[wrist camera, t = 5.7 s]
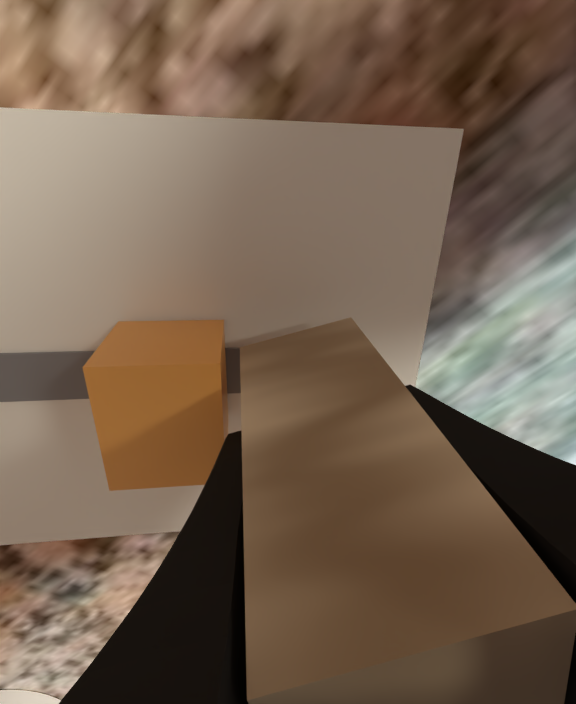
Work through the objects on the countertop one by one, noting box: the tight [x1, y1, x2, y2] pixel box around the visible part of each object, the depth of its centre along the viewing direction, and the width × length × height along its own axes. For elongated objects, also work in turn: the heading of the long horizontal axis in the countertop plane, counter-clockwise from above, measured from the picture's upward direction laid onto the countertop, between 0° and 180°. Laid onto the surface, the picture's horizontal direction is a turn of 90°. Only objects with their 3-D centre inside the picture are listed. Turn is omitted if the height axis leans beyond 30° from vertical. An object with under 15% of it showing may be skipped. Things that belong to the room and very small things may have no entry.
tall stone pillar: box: [240, 317, 576, 704], centre depth 8 cm, size 3×3×8 cm
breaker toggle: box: [83, 320, 228, 491], centre depth 11 cm, size 3×4×3 cm
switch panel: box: [0, 108, 464, 545], centre depth 13 cm, size 20×14×1 cm
